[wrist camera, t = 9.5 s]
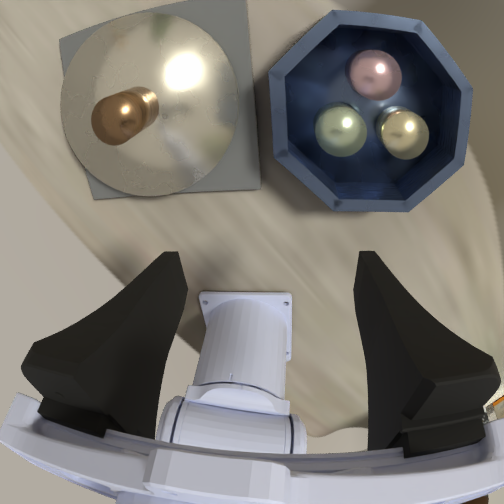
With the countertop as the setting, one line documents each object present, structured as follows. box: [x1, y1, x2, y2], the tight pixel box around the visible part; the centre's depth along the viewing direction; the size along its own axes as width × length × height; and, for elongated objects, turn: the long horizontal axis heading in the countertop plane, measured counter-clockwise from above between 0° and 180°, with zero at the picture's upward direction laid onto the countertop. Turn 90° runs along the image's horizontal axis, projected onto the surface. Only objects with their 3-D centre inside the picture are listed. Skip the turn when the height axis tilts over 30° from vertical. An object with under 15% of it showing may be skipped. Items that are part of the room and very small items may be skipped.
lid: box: [60, 12, 239, 196], centre depth 17 cm, size 12×12×4 cm
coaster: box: [59, 0, 261, 200], centre depth 19 cm, size 13×13×1 cm
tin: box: [268, 10, 473, 212], centre depth 17 cm, size 12×12×3 cm
